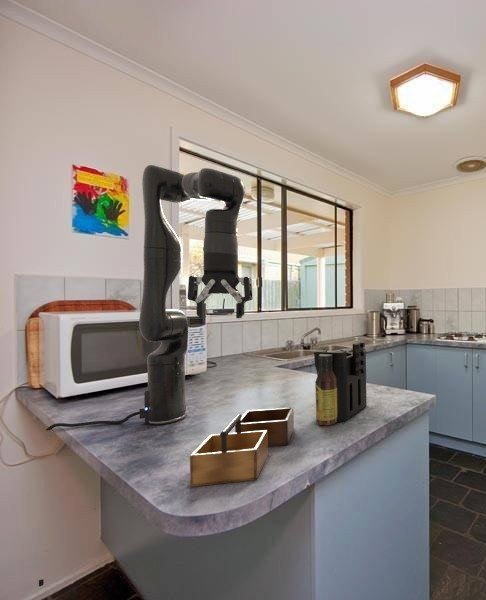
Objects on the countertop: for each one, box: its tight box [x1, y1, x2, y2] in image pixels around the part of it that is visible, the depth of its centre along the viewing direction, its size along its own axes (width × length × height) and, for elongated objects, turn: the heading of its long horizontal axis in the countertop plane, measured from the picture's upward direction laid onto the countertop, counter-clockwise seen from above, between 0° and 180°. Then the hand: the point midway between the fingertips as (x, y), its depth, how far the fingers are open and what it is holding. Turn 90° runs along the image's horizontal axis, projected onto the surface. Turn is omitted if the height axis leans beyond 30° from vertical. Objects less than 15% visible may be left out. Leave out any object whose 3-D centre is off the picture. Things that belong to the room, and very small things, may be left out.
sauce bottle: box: [314, 354, 338, 426], centre depth 94 cm, size 7×6×20 cm
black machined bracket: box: [313, 341, 368, 423], centre depth 103 cm, size 12×21×22 cm, turn 160°
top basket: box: [189, 413, 269, 488], centre depth 69 cm, size 12×10×10 cm
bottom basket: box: [234, 407, 295, 448], centre depth 84 cm, size 12×10×6 cm
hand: (220, 318), depth 81 cm, fingers open, 8 cm apart
